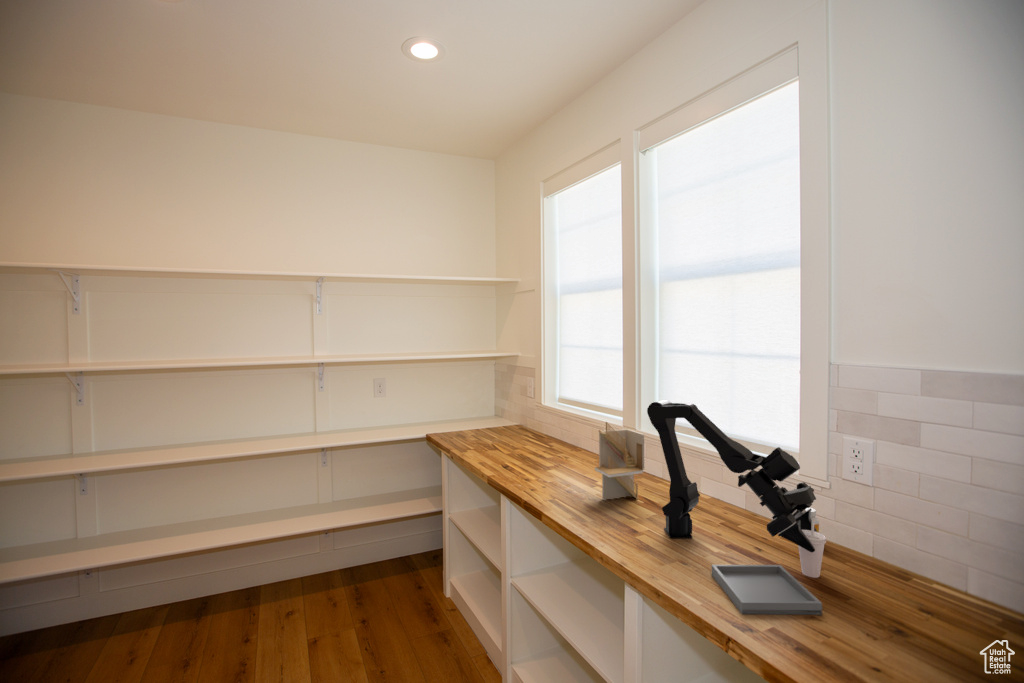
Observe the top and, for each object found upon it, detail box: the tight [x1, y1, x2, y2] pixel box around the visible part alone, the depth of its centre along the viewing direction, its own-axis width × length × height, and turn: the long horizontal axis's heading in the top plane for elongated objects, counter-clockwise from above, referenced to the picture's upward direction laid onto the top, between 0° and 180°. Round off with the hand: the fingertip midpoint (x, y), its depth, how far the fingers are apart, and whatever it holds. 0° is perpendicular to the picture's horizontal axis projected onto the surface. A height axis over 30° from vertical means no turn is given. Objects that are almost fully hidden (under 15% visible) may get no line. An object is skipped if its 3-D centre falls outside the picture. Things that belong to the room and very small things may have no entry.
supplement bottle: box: [805, 506, 820, 533], centre depth 135 cm, size 5×5×10 cm
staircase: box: [594, 421, 645, 501], centre depth 168 cm, size 10×16×29 cm, turn 111°
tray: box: [710, 564, 823, 616], centre depth 110 cm, size 17×17×2 cm
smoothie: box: [797, 518, 827, 579], centre depth 118 cm, size 6×6×14 cm
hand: (817, 546), depth 117 cm, fingers closed on smoothie, 6 cm apart
